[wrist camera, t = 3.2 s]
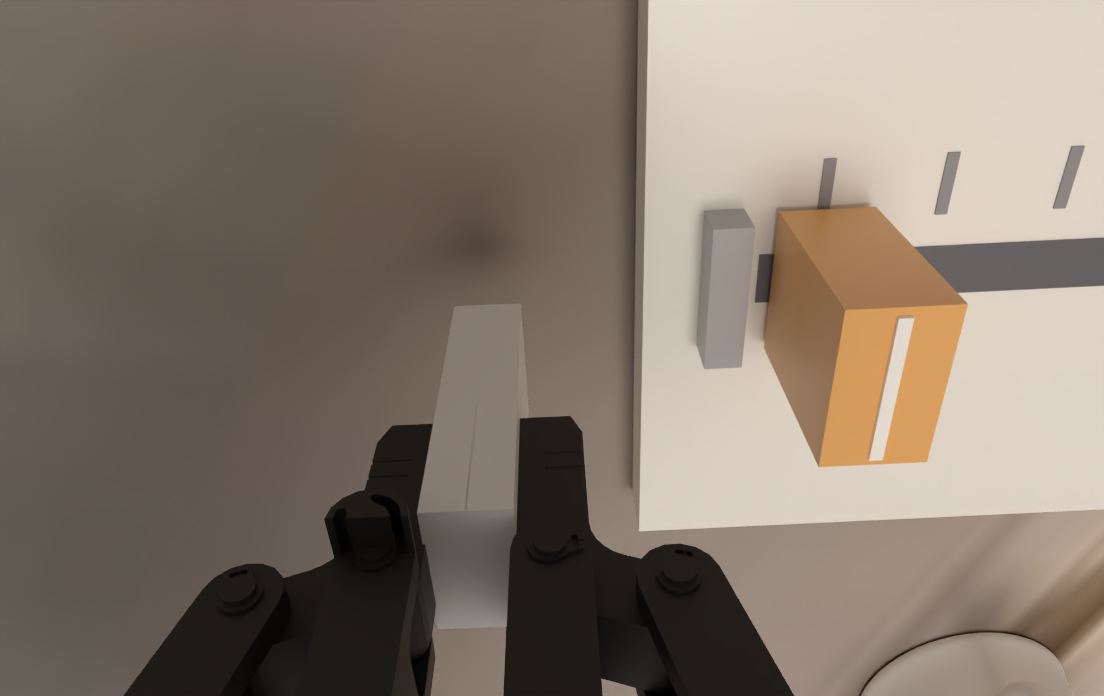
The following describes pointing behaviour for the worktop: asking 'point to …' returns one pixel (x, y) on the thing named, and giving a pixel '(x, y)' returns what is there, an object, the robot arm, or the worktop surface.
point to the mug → (973, 669)
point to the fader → (860, 336)
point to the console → (910, 205)
